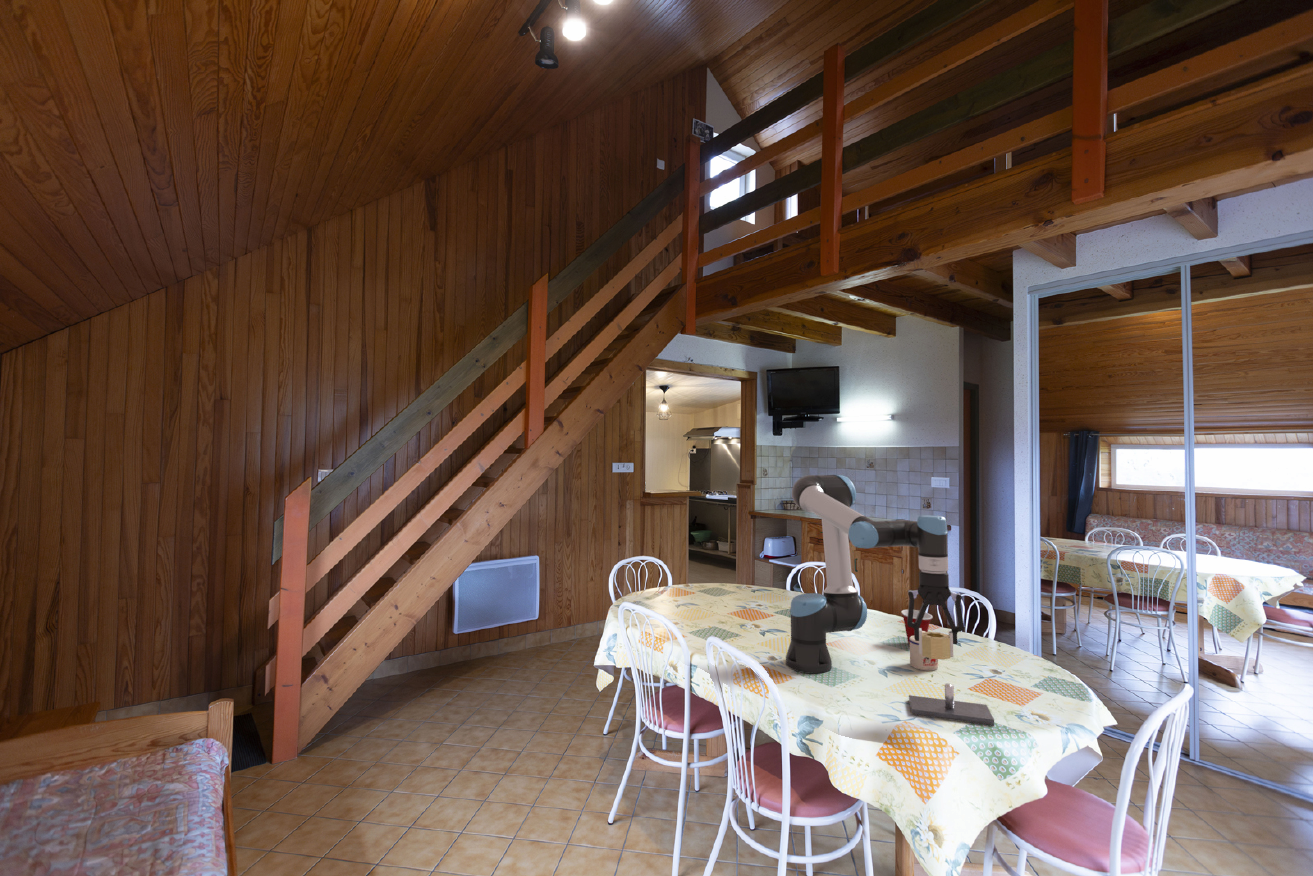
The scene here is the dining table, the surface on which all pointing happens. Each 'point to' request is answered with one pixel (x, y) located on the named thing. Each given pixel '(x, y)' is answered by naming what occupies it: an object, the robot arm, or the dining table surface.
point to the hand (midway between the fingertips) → (935, 654)
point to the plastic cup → (910, 630)
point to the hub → (935, 645)
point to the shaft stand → (950, 708)
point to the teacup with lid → (920, 657)
